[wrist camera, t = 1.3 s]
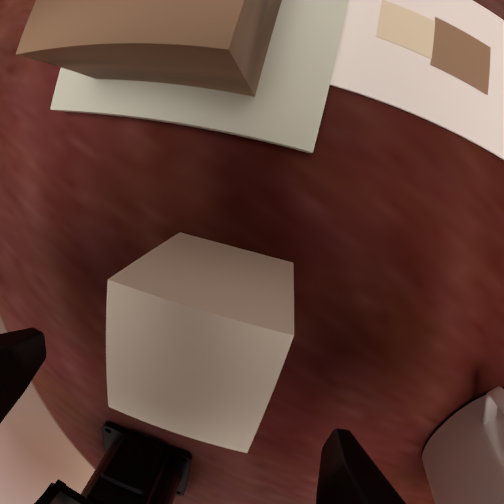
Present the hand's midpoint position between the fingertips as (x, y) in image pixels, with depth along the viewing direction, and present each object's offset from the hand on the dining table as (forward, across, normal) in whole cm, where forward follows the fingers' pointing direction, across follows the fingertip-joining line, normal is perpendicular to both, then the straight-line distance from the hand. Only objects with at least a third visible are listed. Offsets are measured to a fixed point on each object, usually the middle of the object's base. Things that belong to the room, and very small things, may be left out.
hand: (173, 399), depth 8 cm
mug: (+7, -18, +5) cm, 20 cm away
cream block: (+7, 0, 0) cm, 7 cm away
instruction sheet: (+6, -6, -14) cm, 17 cm away
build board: (+6, +4, -12) cm, 14 cm away
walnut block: (+5, +4, -12) cm, 14 cm away
